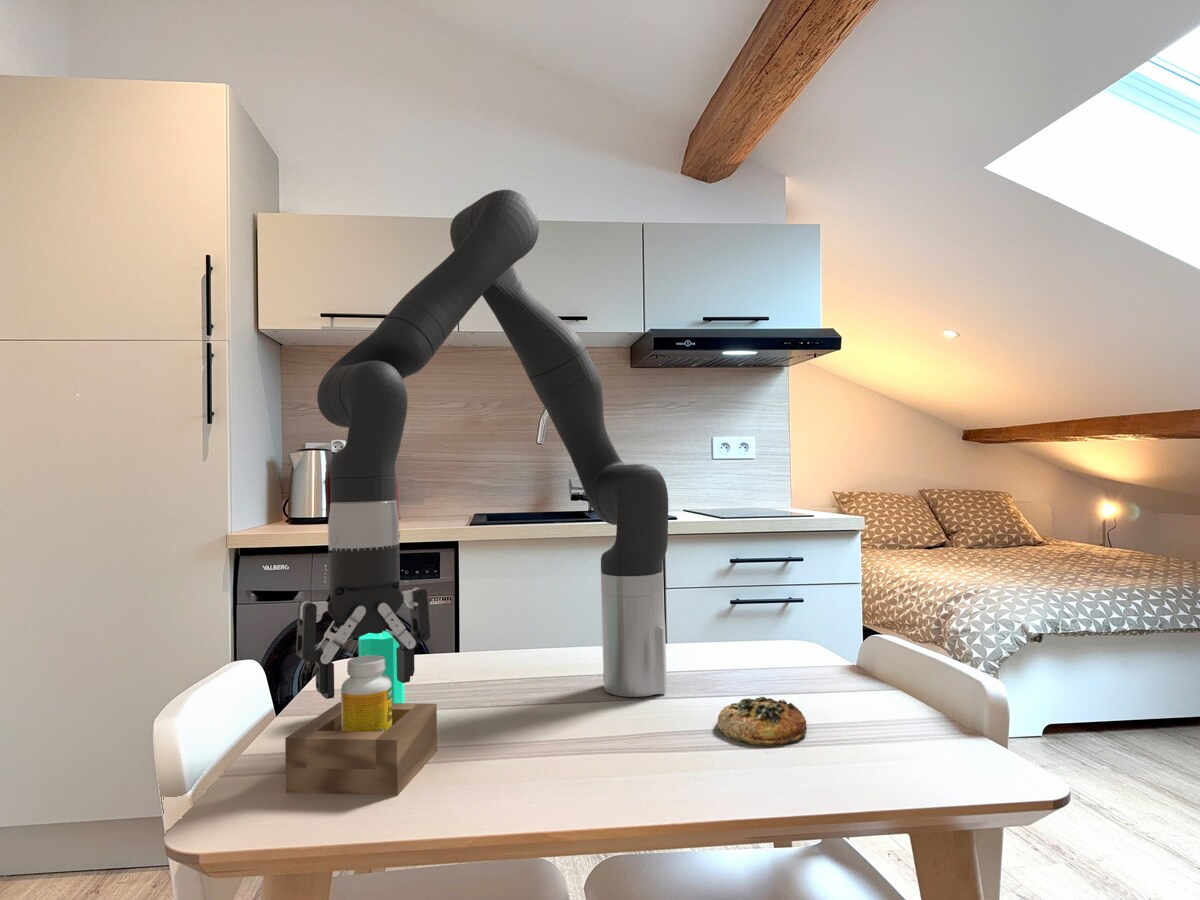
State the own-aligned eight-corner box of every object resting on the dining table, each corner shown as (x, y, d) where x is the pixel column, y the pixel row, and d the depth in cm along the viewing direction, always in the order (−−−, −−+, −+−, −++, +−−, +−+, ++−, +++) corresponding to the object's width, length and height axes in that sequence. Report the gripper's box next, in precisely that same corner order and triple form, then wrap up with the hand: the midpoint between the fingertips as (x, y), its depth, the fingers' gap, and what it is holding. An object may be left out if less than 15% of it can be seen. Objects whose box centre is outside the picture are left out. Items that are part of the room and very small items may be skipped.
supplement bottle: (338, 743, 84) (337, 657, 84) (387, 735, 86) (386, 651, 86) (345, 759, 79) (344, 667, 79) (397, 750, 81) (395, 661, 82)
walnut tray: (437, 755, 87) (436, 703, 88) (397, 800, 76) (396, 740, 76) (339, 753, 89) (339, 702, 89) (285, 796, 77) (285, 737, 77)
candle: (391, 719, 100) (390, 628, 100) (350, 717, 101) (349, 627, 101) (412, 705, 105) (410, 619, 106) (373, 703, 107) (371, 619, 107)
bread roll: (817, 722, 94) (813, 684, 94) (796, 766, 84) (791, 723, 84) (732, 714, 100) (728, 678, 99) (703, 754, 90) (698, 714, 89)
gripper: (410, 535, 90) (413, 670, 90) (287, 545, 82) (289, 694, 81) (438, 539, 84) (441, 683, 84) (308, 549, 76) (311, 711, 75)
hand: (366, 689), depth 83 cm, fingers open, 8 cm apart
